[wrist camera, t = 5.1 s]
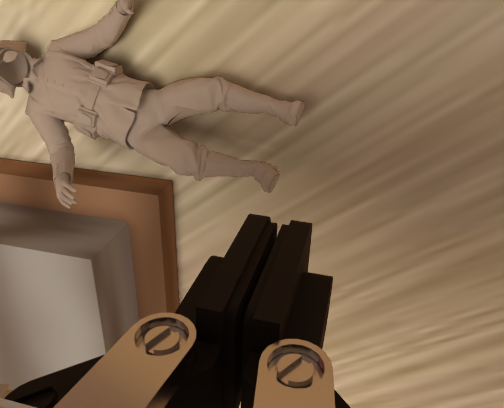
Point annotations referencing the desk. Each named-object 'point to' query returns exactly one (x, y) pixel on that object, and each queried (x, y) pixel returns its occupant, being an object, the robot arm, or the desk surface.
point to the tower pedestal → (79, 265)
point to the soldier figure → (127, 105)
